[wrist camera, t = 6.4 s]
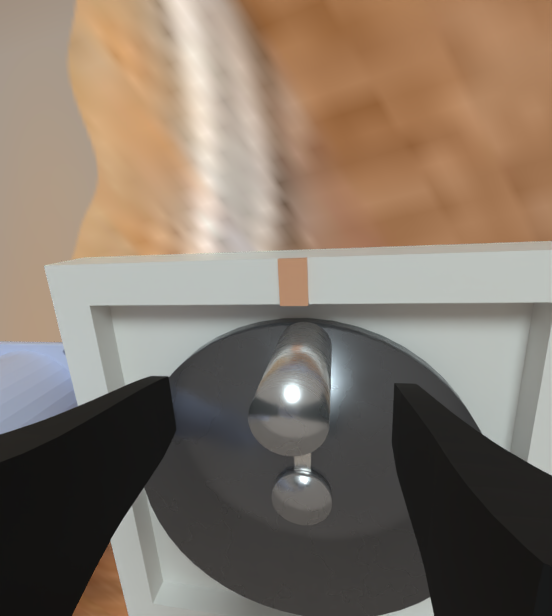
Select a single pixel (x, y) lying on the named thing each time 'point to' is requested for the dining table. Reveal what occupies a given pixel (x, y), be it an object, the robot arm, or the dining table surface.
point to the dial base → (319, 305)
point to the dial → (296, 467)
